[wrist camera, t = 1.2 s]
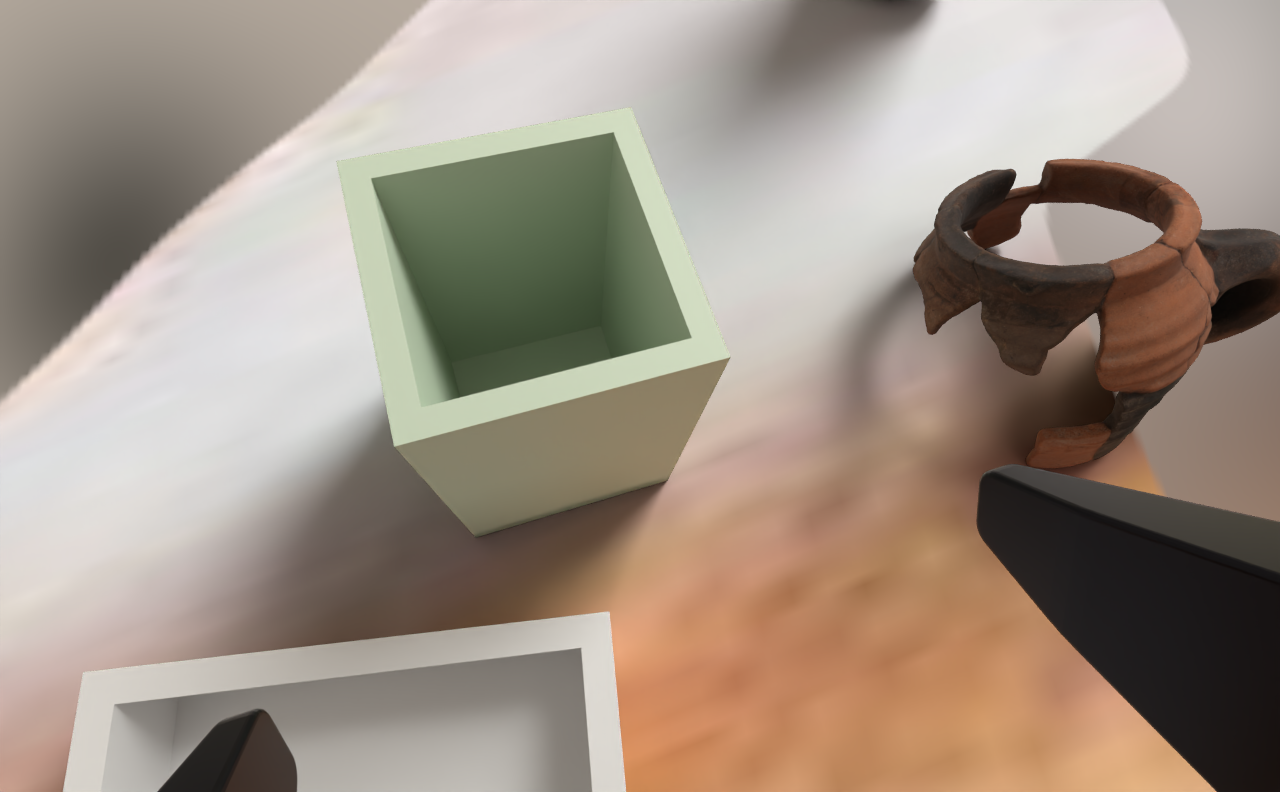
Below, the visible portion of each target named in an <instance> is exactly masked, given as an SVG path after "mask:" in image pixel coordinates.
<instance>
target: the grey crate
mask: <svg viewBox="0 0 1280 792" xmlns="http://www.w3.org/2000/svg"><path fill="white" fill-rule="evenodd" d="M257 708H258V709H264V710H265V711H266V712H268V714H269V715H270V716H271V718H272V720H273V721H274V723H275V725H276V727H277V728H278V730H279V732H280V734H281V735H282V737H283V739H284V741H285V742H286V744H287V746H288V747H289V749H290V751H291V753H292V755H293V757H294V760H295V763H296V768H297V792H626V785H625V774H624V764H623V753H622V742H621V731H620V721H619V710H618V699H617V688H616V678H615V667H614V656H613V645H612V635H611V624H610V613H609V612H601V613H592V614H584V615H575V616H566V617H557V618H549V619H540V620H531V621H523V622H514V623H505V624H497V625H488V626H479V627H471V628H462V629H453V630H445V631H436V632H427V633H419V634H410V635H401V636H392V637H384V638H375V639H366V640H358V641H349V642H340V643H332V644H323V645H314V646H306V647H297V648H288V649H280V650H271V651H262V652H254V653H245V654H236V655H228V656H219V657H210V658H201V659H193V660H184V661H175V662H167V663H158V664H149V665H141V666H132V667H123V668H115V669H106V670H97V671H89V672H83V676H82V682H81V688H80V694H79V700H78V706H77V712H76V717H75V723H74V729H73V735H72V741H71V747H70V753H69V759H68V765H67V771H66V777H65V782H64V788H63V792H157V791H158V790H159V789H160V788H161V787H162V786H163V784H164V783H165V782H166V781H167V780H168V779H169V777H170V776H171V775H172V774H173V773H174V772H175V771H176V769H177V768H178V767H179V766H180V765H181V764H182V763H183V761H184V760H185V759H186V758H187V757H188V756H189V755H190V753H191V752H192V751H193V750H194V749H195V748H196V746H197V745H198V744H199V743H200V742H201V741H202V740H203V738H204V737H205V736H206V735H207V734H208V733H209V732H210V730H211V729H212V728H213V727H214V726H215V725H216V724H217V723H218V722H220V721H221V720H223V719H225V718H228V717H231V716H234V715H237V714H240V713H243V712H246V711H249V710H252V709H257Z"/></svg>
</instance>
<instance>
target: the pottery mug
mask: <svg viewBox="0 0 1280 792" xmlns="http://www.w3.org/2000/svg"><path fill="white" fill-rule="evenodd" d="M1015 178H1016V172H1015V171H1014V170H1013V169H1007V170H992V171H988V172H985V173H983V174H981V175H977V176H976V177H974V178H972V179H969V180H968V181H967V182H965V183H963V184H962V185H960V186H958V187H957V188H955V189H954V190H953V191H952V192H951V193H949V195H948V196H946V197H945V199H944V200H943V202H942V203H941V205H940V207H939V209H938V214H937V215H936V219H935V223H934V227H935V229H934V230H933V231H932V232H931V233H930V234H929V235H928V236H927V237H926V239H925V240H924V241H923V242H922V244H921V245H920V247H919V248H918V250H917V252H916V254H915V256H914V262H915V265H914V267H913V274H914V277H915V279H916V281H917V282H918V284H919V286H920V288H921V290H922V294H923V299H924V305H925V312H924V315H925V323H926V327H927V332H928V334H930V335H933V334H935V333H937V331H938V330H939V329H940V327H941V326H942V325H943V324H945V323H946V322H947V321H948V320H949V319H951V318H952V317H954V316H956V315H958V314H960V313H961V312H963V311H964V310H966V309H968V308H970V307H971V306H972V305H975V304H976V303H978V302H980V301H981V302H982V313H981V319H982V322H983V325H984V326H985V329H986V331H987V332H988V334H989V336H990V337H991V338H992V340H993V341H994V342H995V344H996V345H997V347H998V349H999V353H1000V357H1001V359H1002V361H1003V362H1004V363H1005V364H1006V365H1007V366H1008V367H1010V368H1012V369H1014V370H1017V371H1019V372H1021V373H1023V374H1026V375H1037V374H1039V373H1040V371H1041V368H1042V365H1043V363H1044V361H1045V359H1046V357H1047V352H1048V350H1050V349H1051V348H1053V347H1055V346H1056V345H1058V344H1059V343H1060V342H1062V341H1063V340H1064V339H1065V338H1066V337H1067V335H1068V334H1069V333H1070V332H1071V331H1072V330H1073V329H1074V328H1076V327H1077V326H1078V325H1079V324H1081V323H1082V322H1084V321H1085V320H1086V319H1087V318H1088V317H1089V316H1091V315H1092V314H1094V313H1097V315H1098V319H1099V324H1100V345H1099V350H1098V353H1097V356H1096V360H1095V371H1096V374H1097V375H1098V380H1099V382H1100V384H1101V386H1102V387H1103V388H1104V389H1106V390H1110V391H1114V392H1117V391H1119V392H1118V394H1117V396H1116V402H1115V405H1114V408H1113V411H1112V413H1110V414H1109V415H1108V416H1107V418H1106V419H1105V420H1104V421H1103V422H1098V423H1092V424H1087V425H1082V426H1074V427H1060V428H1044V429H1041V430H1040V431H1039V432H1038V434H1037V438H1036V442H1035V448H1033V449H1032V451H1031V452H1030V453H1029V455H1028V456H1027V458H1026V464H1027V465H1028V466H1031V467H1034V468H1060V467H1069V466H1073V465H1077V464H1081V463H1085V462H1088V461H1090V460H1093V459H1098V458H1100V457H1102V456H1104V455H1106V454H1107V453H1109V452H1110V451H1112V450H1113V449H1115V448H1116V447H1117V446H1118V445H1119V444H1120V443H1121V442H1122V441H1123V440H1124V439H1125V437H1126V436H1127V435H1128V434H1130V433H1131V432H1132V431H1133V429H1134V428H1135V427H1136V426H1137V425H1138V424H1139V422H1140V421H1141V420H1142V418H1143V417H1144V416H1145V414H1146V413H1147V412H1148V411H1149V410H1150V409H1152V408H1153V407H1154V406H1156V405H1157V404H1158V403H1159V402H1160V401H1161V400H1162V398H1163V396H1164V395H1165V394H1166V393H1167V392H1168V391H1169V390H1171V389H1172V388H1173V387H1174V386H1175V385H1176V384H1177V383H1178V382H1179V380H1180V379H1181V378H1182V377H1183V376H1184V374H1185V373H1186V372H1187V370H1188V369H1189V367H1190V366H1191V365H1192V363H1193V362H1194V361H1195V359H1196V358H1197V357H1198V355H1199V353H1200V351H1201V349H1202V347H1203V345H1205V344H1208V343H1213V342H1217V341H1219V340H1222V339H1225V338H1228V337H1231V336H1233V335H1236V334H1239V333H1242V332H1244V331H1246V330H1248V329H1250V328H1253V327H1254V326H1257V325H1258V324H1261V323H1262V322H1264V321H1266V320H1268V319H1269V318H1271V317H1273V316H1274V315H1276V314H1277V313H1279V312H1280V235H1278V234H1276V233H1274V232H1271V231H1266V230H1260V229H1228V230H1201V229H1200V228H1201V225H1202V219H1201V214H1200V211H1199V208H1198V206H1197V204H1196V202H1195V201H1194V199H1193V198H1192V197H1191V195H1190V194H1189V193H1187V192H1186V191H1185V190H1184V189H1183V188H1182V187H1180V186H1179V185H1178V184H1176V183H1173V182H1172V181H1170V180H1169V179H1168V178H1166V177H1164V176H1161V175H1158V174H1156V173H1154V172H1150V171H1147V170H1143V169H1140V168H1137V167H1134V166H1130V165H1124V164H1121V163H1111V162H1104V161H1096V160H1084V159H1057V160H1050V161H1047V162H1046V164H1045V167H1044V169H1043V172H1042V179H1041V182H1040V183H1039V184H1038V185H1034V186H1027V187H1021V188H1016V189H1012V190H1010V189H1011V188H1012V186H1013V184H1014V181H1015ZM1055 202H1056V203H1086V204H1095V205H1098V206H1101V207H1105V208H1108V209H1113V210H1117V211H1122V212H1126V213H1128V214H1131V215H1134V216H1135V217H1138V218H1140V219H1142V220H1144V221H1146V222H1152V223H1154V224H1155V225H1156V226H1157V227H1158V228H1159V229H1160V230H1161V231H1163V232H1164V234H1163V235H1162V236H1161V237H1160V238H1159V239H1158V240H1157V241H1156V242H1155V243H1154V244H1151V245H1150V246H1148V247H1146V248H1145V249H1143V250H1140V251H1138V252H1135V253H1133V254H1131V255H1127V256H1125V257H1122V258H1118V259H1115V260H1111V261H1109V262H1107V263H1104V264H1084V265H1069V266H1057V265H1043V264H1035V263H1029V262H1022V261H1017V260H1013V259H1008V258H1004V257H1001V256H999V255H997V254H994V253H990V252H989V251H987V250H984V249H987V248H990V247H993V246H996V245H999V244H1001V243H1003V242H1005V241H1007V240H1010V239H1012V238H1013V237H1015V236H1016V235H1018V233H1019V232H1020V228H1021V216H1022V215H1023V213H1024V212H1025V210H1026V209H1027V208H1028V206H1029V205H1030V204H1039V203H1055ZM965 231H967V233H968V235H969V236H970V238H971V239H970V238H969V237H967V236H966V234H965V233H964V232H965Z"/></svg>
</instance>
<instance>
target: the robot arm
mask: <svg viewBox="0 0 1280 792" xmlns="http://www.w3.org/2000/svg"><path fill="white" fill-rule="evenodd" d="M977 528H978V531H979V534H980V536H981V537H982V539H983V541H984V542H985V543H986V545H987V546H988V547H989V548H990V549H991V551H992V552H993V553H994V554H995V555H996V557H997V558H998V559H999V560H1000V562H1001V563H1002V564H1003V565H1004V566H1005V568H1006V569H1007V570H1008V571H1009V572H1010V574H1011V575H1012V576H1013V577H1014V578H1015V580H1016V581H1017V582H1018V583H1019V585H1020V586H1021V587H1022V588H1023V589H1024V591H1025V592H1026V593H1027V594H1028V595H1029V597H1030V598H1031V599H1032V600H1033V601H1034V603H1035V604H1036V605H1037V606H1038V607H1039V609H1040V610H1041V611H1042V612H1043V614H1044V615H1045V616H1046V617H1047V618H1048V619H1049V621H1050V622H1051V623H1052V624H1053V625H1054V626H1055V628H1056V629H1057V630H1058V631H1059V632H1060V633H1061V634H1062V635H1063V636H1064V638H1065V639H1066V640H1067V641H1068V642H1069V643H1070V644H1071V645H1072V646H1073V647H1074V648H1075V649H1076V650H1077V651H1078V652H1079V653H1080V654H1081V655H1082V656H1083V657H1084V658H1085V659H1086V660H1087V661H1088V662H1089V663H1090V664H1091V665H1092V666H1093V667H1094V668H1095V669H1096V670H1097V671H1098V672H1099V673H1100V674H1101V675H1102V676H1103V677H1104V678H1105V679H1106V680H1107V681H1108V682H1109V683H1110V684H1111V685H1112V687H1113V688H1114V689H1115V690H1116V691H1117V692H1118V693H1119V694H1120V695H1121V696H1122V697H1123V698H1124V699H1125V700H1126V701H1127V702H1128V703H1129V704H1130V705H1131V706H1132V707H1133V708H1134V709H1135V710H1136V711H1137V712H1138V713H1139V714H1140V715H1141V716H1142V717H1143V718H1144V719H1145V720H1146V721H1147V722H1148V723H1149V724H1150V725H1151V726H1152V727H1153V728H1154V729H1155V730H1156V731H1157V732H1158V733H1159V734H1160V735H1161V736H1162V737H1163V738H1164V739H1165V740H1166V741H1167V742H1168V743H1169V744H1170V745H1171V746H1172V747H1173V748H1174V749H1175V750H1176V751H1177V752H1178V753H1179V754H1180V755H1181V756H1182V757H1183V758H1184V759H1185V760H1186V761H1187V762H1188V763H1189V764H1190V765H1191V766H1192V767H1193V768H1194V769H1195V770H1196V771H1197V772H1198V773H1199V774H1200V775H1201V776H1202V777H1203V778H1204V779H1205V780H1206V781H1207V782H1208V783H1209V784H1210V785H1211V786H1212V787H1213V788H1214V789H1215V790H1216V791H1217V792H1280V522H1278V521H1274V520H1269V519H1264V518H1260V517H1255V516H1251V515H1246V514H1242V513H1237V512H1232V511H1228V510H1223V509H1218V508H1214V507H1209V506H1205V505H1201V504H1196V503H1191V502H1186V501H1182V500H1177V499H1173V498H1168V497H1164V496H1159V495H1155V494H1150V493H1146V492H1141V491H1137V490H1132V489H1128V488H1123V487H1118V486H1114V485H1109V484H1105V483H1100V482H1096V481H1091V480H1086V479H1082V478H1077V477H1073V476H1068V475H1064V474H1059V473H1054V472H1050V471H1045V470H1041V469H1036V468H1032V467H1027V466H1022V465H1018V464H1008V465H1004V466H1001V467H998V468H995V469H992V470H989V471H987V472H985V473H984V474H983V475H982V477H981V479H980V482H979V493H978V507H977ZM157 792H297V768H296V763H295V760H294V757H293V755H292V753H291V751H290V749H289V747H288V746H287V744H286V742H285V741H284V739H283V737H282V735H281V734H280V732H279V730H278V728H277V727H276V725H275V723H274V721H273V720H272V718H271V716H270V715H269V714H268V712H266V711H265V710H264V709H258V708H257V709H252V710H249V711H246V712H243V713H240V714H237V715H234V716H231V717H228V718H225V719H223V720H221V721H220V722H218V723H217V724H216V725H215V726H214V727H213V728H212V729H211V730H210V732H209V733H208V734H207V735H206V736H205V737H204V738H203V740H202V741H201V742H200V743H199V744H198V745H197V746H196V748H195V749H194V750H193V751H192V752H191V753H190V755H189V756H188V757H187V758H186V759H185V760H184V761H183V763H182V764H181V765H180V766H179V767H178V768H177V769H176V771H175V772H174V773H173V774H172V775H171V776H170V777H169V779H168V780H167V781H166V782H165V783H164V784H163V786H162V787H161V788H160V789H159V790H158V791H157Z"/></svg>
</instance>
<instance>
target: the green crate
mask: <svg viewBox="0 0 1280 792" xmlns="http://www.w3.org/2000/svg"><path fill="white" fill-rule="evenodd" d="M336 162H337V167H338V171H339V176H340V181H341V186H342V191H343V196H344V201H345V206H346V211H347V216H348V221H349V226H350V231H351V236H352V241H353V246H354V251H355V256H356V261H357V265H358V270H359V275H360V280H361V285H362V290H363V295H364V300H365V305H366V310H367V315H368V320H369V325H370V330H371V335H372V340H373V345H374V350H375V355H376V359H377V364H378V369H379V374H380V379H381V384H382V389H383V394H384V399H385V404H386V409H387V414H388V419H389V424H390V429H391V434H392V439H393V444H394V447H395V448H396V449H397V450H398V452H399V453H400V454H401V455H402V456H403V457H404V458H405V459H406V460H407V462H408V463H409V464H410V465H411V466H412V467H413V468H414V469H415V470H416V472H417V473H418V474H419V475H420V476H421V477H422V478H423V479H424V481H425V482H426V483H427V484H428V485H429V486H430V487H431V488H432V489H433V491H434V492H435V493H436V494H437V495H438V496H439V497H440V498H441V499H442V501H443V502H444V503H445V504H446V505H447V506H448V507H449V508H450V510H451V511H452V512H453V513H454V514H455V515H456V516H457V517H458V518H459V520H460V521H461V522H462V523H463V524H464V525H465V526H466V527H467V528H468V530H469V531H470V532H471V533H472V534H473V535H474V536H475V537H480V536H483V535H486V534H490V533H493V532H496V531H500V530H503V529H506V528H510V527H513V526H516V525H520V524H523V523H527V522H530V521H533V520H537V519H540V518H543V517H547V516H550V515H553V514H557V513H560V512H563V511H567V510H570V509H574V508H577V507H580V506H584V505H587V504H590V503H594V502H597V501H600V500H604V499H607V498H610V497H614V496H617V495H621V494H624V493H627V492H631V491H634V490H637V489H641V488H644V487H647V486H651V485H654V484H657V483H661V482H664V481H668V479H669V477H670V475H671V473H672V471H673V469H674V467H675V465H676V463H677V461H678V459H679V457H680V455H681V453H682V451H683V449H684V447H685V445H686V443H687V441H688V439H689V437H690V435H691V434H692V432H693V430H694V428H695V426H696V424H697V422H698V420H699V418H700V416H701V414H702V412H703V410H704V408H705V406H706V404H707V402H708V400H709V398H710V396H711V394H712V392H713V390H714V388H715V387H716V385H717V383H718V381H719V379H720V377H721V375H722V373H723V371H724V369H725V367H726V365H727V363H728V361H729V359H730V355H729V352H728V350H727V347H726V345H725V342H724V340H723V337H722V335H721V332H720V330H719V327H718V325H717V322H716V320H715V317H714V315H713V312H712V310H711V307H710V305H709V302H708V299H707V297H706V294H705V292H704V289H703V287H702V284H701V282H700V279H699V277H698V274H697V272H696V269H695V267H694V264H693V262H692V259H691V257H690V254H689V252H688V249H687V247H686V244H685V242H684V239H683V237H682V234H681V232H680V229H679V227H678V224H677V222H676V219H675V217H674V214H673V212H672V209H671V207H670V204H669V201H668V199H667V196H666V194H665V191H664V189H663V186H662V184H661V181H660V179H659V176H658V174H657V171H656V169H655V166H654V164H653V161H652V159H651V156H650V154H649V151H648V149H647V146H646V144H645V141H644V139H643V136H642V134H641V131H640V129H639V126H638V124H637V121H636V119H635V116H634V114H633V111H632V109H631V107H629V108H624V109H618V110H613V111H608V112H602V113H597V114H591V115H586V116H580V117H575V118H569V119H564V120H559V121H553V122H548V123H542V124H537V125H531V126H526V127H521V128H515V129H510V130H504V131H499V132H493V133H488V134H482V135H477V136H472V137H466V138H461V139H455V140H450V141H444V142H439V143H433V144H428V145H423V146H417V147H412V148H406V149H401V150H395V151H390V152H385V153H379V154H374V155H368V156H363V157H357V158H352V159H346V160H341V161H336Z"/></svg>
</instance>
